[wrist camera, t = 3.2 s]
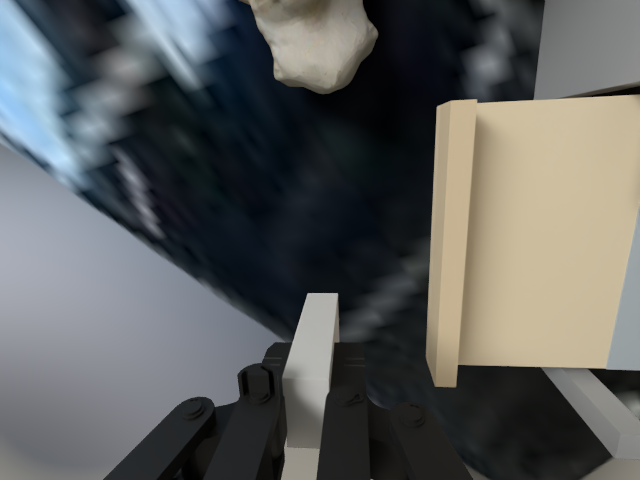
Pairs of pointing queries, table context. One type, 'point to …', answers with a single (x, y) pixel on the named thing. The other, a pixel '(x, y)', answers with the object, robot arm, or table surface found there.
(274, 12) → the ceramic sculpture
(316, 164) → the table surface
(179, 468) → the robot arm
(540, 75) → the carton
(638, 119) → the lid
